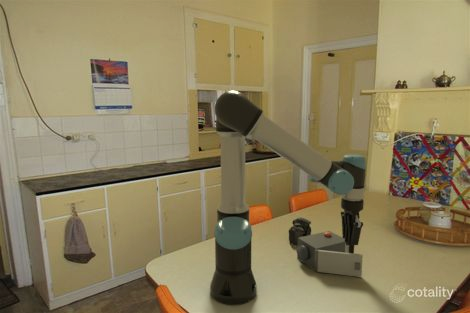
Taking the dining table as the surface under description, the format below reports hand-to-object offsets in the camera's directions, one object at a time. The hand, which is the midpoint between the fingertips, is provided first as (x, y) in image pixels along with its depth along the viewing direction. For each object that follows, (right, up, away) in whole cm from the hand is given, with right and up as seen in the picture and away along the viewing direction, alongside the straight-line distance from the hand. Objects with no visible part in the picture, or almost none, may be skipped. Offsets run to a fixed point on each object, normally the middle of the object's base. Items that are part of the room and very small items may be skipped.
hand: (349, 260), depth 118 cm
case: (-8, -3, +9) cm, 12 cm away
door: (-5, -4, -3) cm, 7 cm away
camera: (-13, 0, +28) cm, 31 cm away
